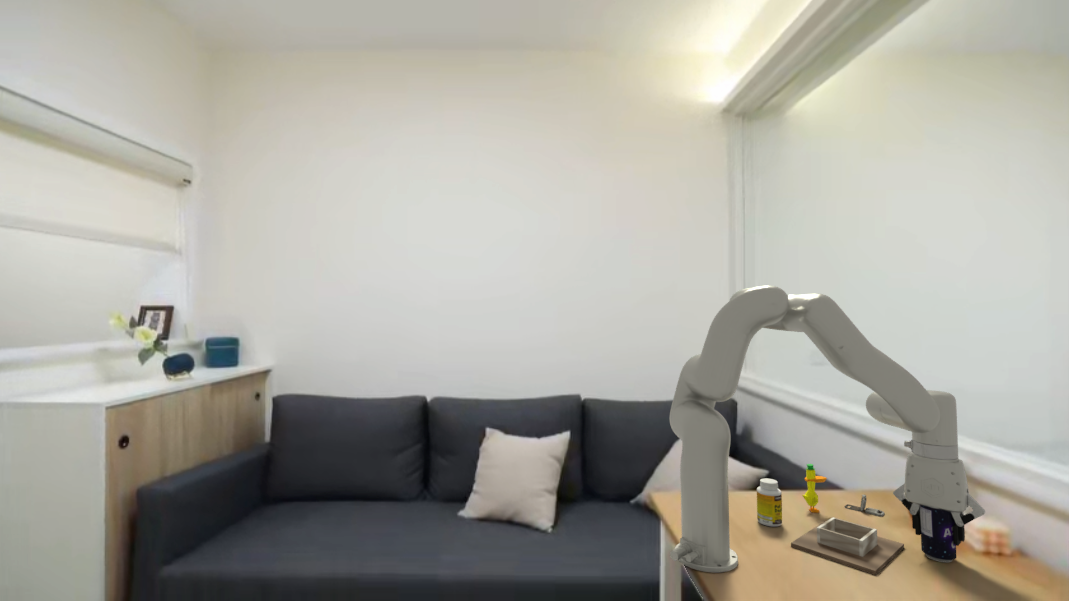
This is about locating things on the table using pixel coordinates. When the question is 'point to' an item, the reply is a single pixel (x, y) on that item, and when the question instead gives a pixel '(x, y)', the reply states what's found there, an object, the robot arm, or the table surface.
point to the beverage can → (937, 534)
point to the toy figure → (812, 487)
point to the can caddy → (849, 545)
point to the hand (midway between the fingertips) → (938, 537)
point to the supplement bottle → (769, 503)
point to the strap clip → (867, 510)
